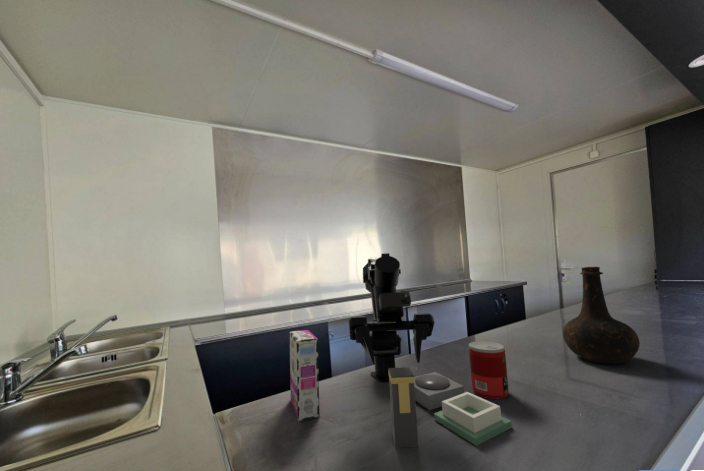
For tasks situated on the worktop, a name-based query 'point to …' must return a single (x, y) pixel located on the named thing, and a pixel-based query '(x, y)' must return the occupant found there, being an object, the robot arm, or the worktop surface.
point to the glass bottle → (599, 327)
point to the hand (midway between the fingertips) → (396, 362)
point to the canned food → (488, 369)
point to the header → (472, 418)
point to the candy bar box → (304, 374)
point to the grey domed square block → (435, 389)
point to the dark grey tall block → (403, 407)
